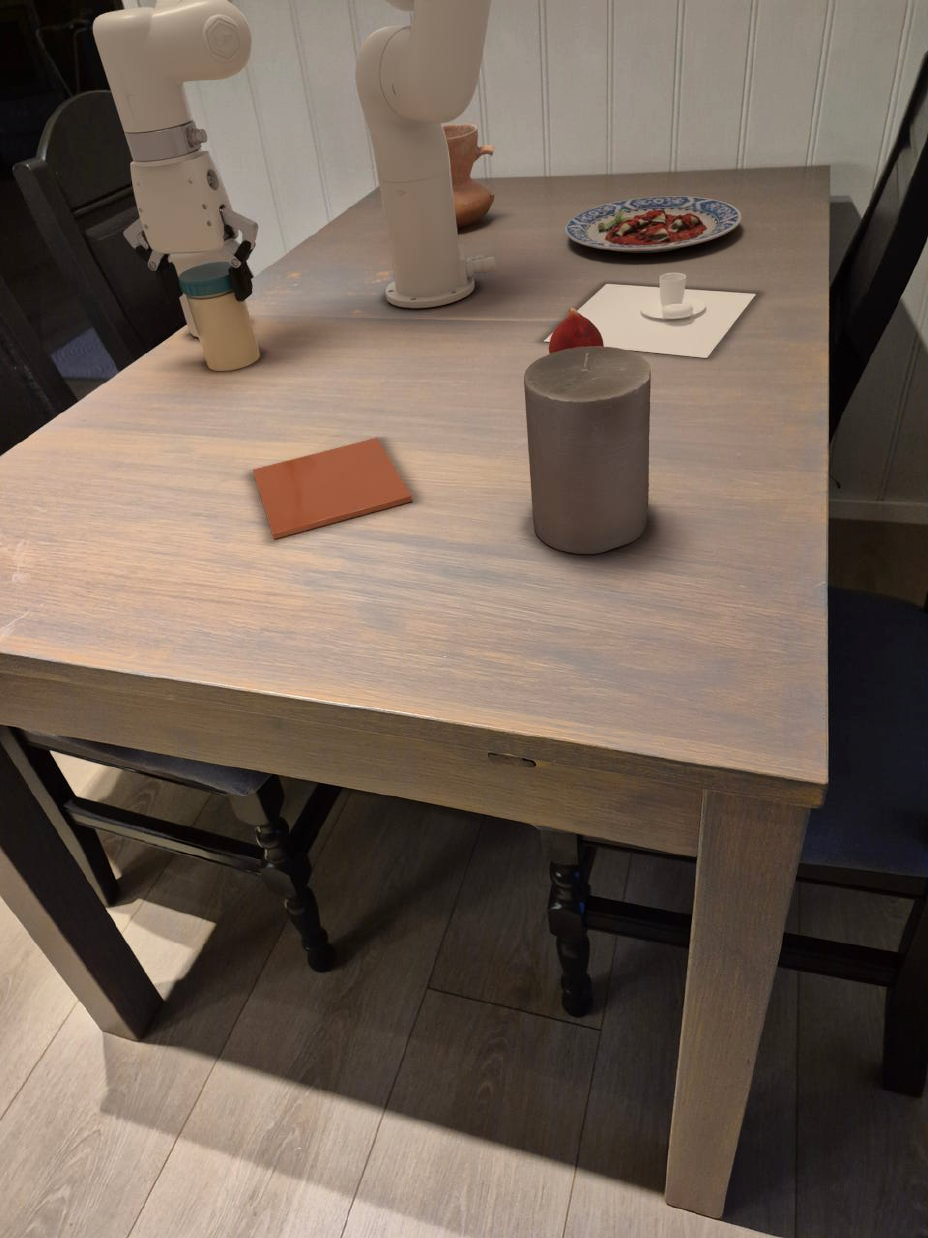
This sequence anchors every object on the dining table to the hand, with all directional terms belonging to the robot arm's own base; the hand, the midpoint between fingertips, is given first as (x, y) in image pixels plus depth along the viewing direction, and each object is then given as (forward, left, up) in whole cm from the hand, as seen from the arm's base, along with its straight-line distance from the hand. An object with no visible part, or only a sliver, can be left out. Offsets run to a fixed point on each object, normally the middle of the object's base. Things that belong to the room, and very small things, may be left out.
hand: (209, 298), depth 108 cm
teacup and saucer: (-53, +9, -8) cm, 54 cm away
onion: (-40, +23, -8) cm, 47 cm away
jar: (-1, 0, -8) cm, 8 cm away
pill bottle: (+2, -13, -8) cm, 16 cm away
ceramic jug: (-35, -46, -8) cm, 58 cm away
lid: (-1, 0, +3) cm, 3 cm away
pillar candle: (-34, +51, -8) cm, 62 cm away
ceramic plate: (-63, -22, -8) cm, 67 cm away
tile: (-12, +37, -8) cm, 40 cm away
